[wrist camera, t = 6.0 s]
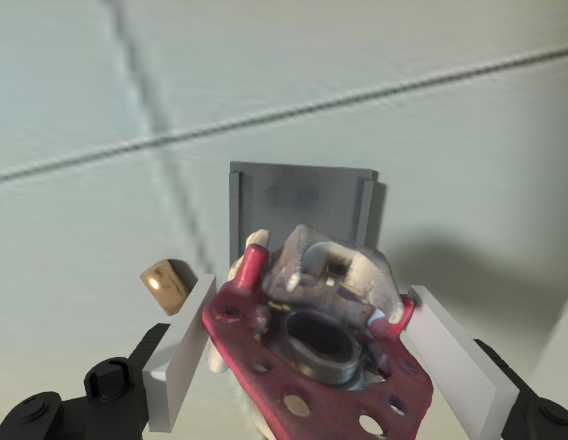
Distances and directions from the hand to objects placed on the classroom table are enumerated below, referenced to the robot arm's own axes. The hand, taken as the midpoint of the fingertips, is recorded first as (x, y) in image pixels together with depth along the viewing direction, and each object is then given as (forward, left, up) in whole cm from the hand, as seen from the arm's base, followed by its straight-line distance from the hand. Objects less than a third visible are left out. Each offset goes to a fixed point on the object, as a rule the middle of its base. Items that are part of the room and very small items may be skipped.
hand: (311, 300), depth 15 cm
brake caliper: (+1, 0, -2) cm, 2 cm away
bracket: (+5, 0, -18) cm, 19 cm away
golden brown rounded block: (+10, -16, -18) cm, 26 cm away
